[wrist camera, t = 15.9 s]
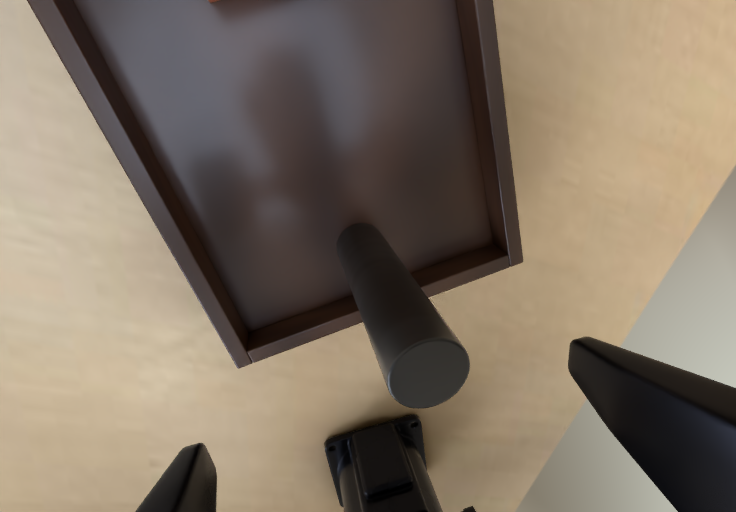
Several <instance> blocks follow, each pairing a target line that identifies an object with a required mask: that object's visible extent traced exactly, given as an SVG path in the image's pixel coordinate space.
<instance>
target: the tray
mask: <svg viewBox="0 0 736 512" xmlns="http://www.w3.org/2000/svg"><path fill="white" fill-rule="evenodd" d="M27 1H28V3H29V5H30V6H31V8H32V10H33V12H34V13H35V15H36V17H37V19H38V20H39V22H40V24H41V26H42V27H43V29H44V31H45V33H46V34H47V36H48V38H49V40H50V41H51V43H52V45H53V47H54V48H55V50H56V52H57V54H58V55H59V57H60V59H61V61H62V62H63V64H64V66H65V68H66V69H67V71H68V73H69V75H70V76H71V78H72V80H73V82H74V83H75V85H76V87H77V89H78V90H79V92H80V94H81V96H82V97H83V99H84V101H85V103H86V104H87V106H88V108H89V110H90V111H91V113H92V115H93V116H94V118H95V120H96V122H97V123H98V125H99V127H100V129H101V130H102V132H103V134H104V136H105V137H106V139H107V141H108V143H109V144H110V146H111V148H112V150H113V151H114V153H115V155H116V157H117V158H118V160H119V162H120V164H121V165H122V167H123V169H124V171H125V172H126V174H127V176H128V178H129V179H130V181H131V183H132V185H133V186H134V188H135V190H136V192H137V193H138V195H139V197H140V199H141V200H142V202H143V204H144V206H145V207H146V209H147V211H148V213H149V214H150V216H151V218H152V220H153V221H154V223H155V225H156V226H157V228H158V230H159V232H160V233H161V235H162V237H163V239H164V240H165V242H166V244H167V246H168V247H169V249H170V251H171V253H172V254H173V256H174V258H175V260H176V261H177V263H178V265H179V267H180V268H181V270H182V272H183V274H184V275H185V277H186V279H187V281H188V282H189V284H190V286H191V288H192V289H193V291H194V293H195V295H196V296H197V298H198V300H199V302H200V303H201V305H202V307H203V309H204V310H205V312H206V314H207V316H208V317H209V319H210V321H211V323H212V324H213V326H214V328H215V330H216V331H217V333H218V335H219V336H220V338H221V340H222V342H223V343H224V345H225V347H226V349H227V350H228V352H229V354H230V356H231V357H232V359H233V361H234V363H235V364H236V366H237V368H241V367H244V366H247V365H249V364H252V362H257V361H260V360H262V359H265V358H268V357H270V356H273V355H276V354H278V353H281V352H284V351H286V350H289V349H292V348H294V347H297V346H300V345H302V344H305V343H308V342H310V341H313V340H316V339H319V338H321V337H324V336H327V335H329V334H332V333H335V332H337V331H340V330H343V329H345V328H348V327H351V326H353V325H356V324H359V323H361V322H363V323H364V326H365V328H366V331H367V334H368V336H369V339H370V342H371V344H372V347H373V350H374V352H375V355H376V358H377V360H378V363H379V366H380V369H381V371H382V374H383V377H384V379H385V382H386V385H387V387H388V390H389V392H390V394H391V395H392V397H393V398H394V399H395V400H396V401H398V402H399V403H400V404H402V405H404V406H407V407H411V408H428V407H433V406H436V405H439V404H441V403H443V402H445V401H446V400H448V399H450V398H451V397H452V396H454V395H455V394H456V393H457V392H458V391H459V390H460V388H461V387H462V386H463V384H464V383H465V381H466V379H467V377H468V374H469V369H470V362H469V356H468V353H467V351H466V350H465V348H464V347H463V346H462V344H461V343H460V341H459V340H458V339H457V337H456V336H455V334H454V333H453V332H452V330H451V329H450V328H449V326H448V325H447V323H446V322H445V321H444V319H443V318H442V317H441V315H440V314H439V312H438V311H437V310H436V308H435V307H434V305H433V304H432V303H431V301H430V300H429V299H428V297H431V296H434V295H436V294H439V293H442V292H444V291H447V290H450V289H452V288H455V287H458V286H460V285H463V284H466V283H469V282H471V281H474V280H477V279H479V278H482V277H485V276H487V275H490V274H493V273H495V272H498V271H501V270H503V269H506V268H509V267H510V266H514V265H517V264H519V263H522V262H523V255H522V246H521V238H520V229H519V220H518V212H517V203H516V195H515V186H514V178H513V169H512V161H511V152H510V144H509V135H508V127H507V118H506V109H505V101H504V92H503V84H502V75H501V67H500V58H499V50H498V41H497V33H496V24H495V16H494V7H493V0H219V1H215V2H212V3H210V2H209V1H208V0H27Z"/></svg>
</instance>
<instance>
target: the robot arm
mask: <svg viewBox="0 0 736 512" xmlns="http://www.w3.org/2000/svg"><path fill="white" fill-rule="evenodd" d="M568 368H569V372H570V374H571V376H572V377H573V379H574V380H575V381H576V383H577V384H578V386H579V387H580V389H581V390H582V392H583V393H584V394H585V396H586V397H587V399H588V400H589V402H590V403H591V405H592V406H593V407H594V409H595V410H596V412H597V413H598V415H599V416H600V417H601V419H602V420H603V422H604V423H605V424H606V426H607V427H608V429H609V430H610V431H611V432H612V433H613V435H614V436H615V437H616V438H617V440H618V441H619V442H620V443H621V444H622V446H623V447H624V448H625V449H626V450H627V452H628V453H629V454H630V455H631V456H632V458H633V459H634V460H635V461H636V462H637V463H638V464H639V466H640V467H641V468H642V469H643V471H644V472H645V473H646V474H647V475H648V477H649V478H650V479H651V480H652V481H653V482H654V484H655V485H656V486H657V487H658V488H659V490H660V491H661V492H662V493H663V494H664V496H665V497H666V498H667V499H668V500H669V501H670V503H671V504H672V505H673V506H674V507H675V509H676V510H677V511H678V512H736V388H734V387H731V386H728V385H725V384H723V383H720V382H717V381H714V380H711V379H708V378H705V377H702V376H700V375H697V374H694V373H691V372H688V371H685V370H682V369H680V368H677V367H674V366H671V365H668V364H665V363H663V362H660V361H657V360H654V359H651V358H648V357H645V356H643V355H640V354H637V353H634V352H631V351H628V350H626V349H623V348H620V347H617V346H614V345H611V344H608V343H606V342H603V341H600V340H597V339H594V338H591V337H582V338H578V339H575V340H573V341H572V342H571V343H570V349H569V360H568ZM413 422H414V423H413ZM324 446H325V452H326V456H327V459H328V463H329V467H330V470H331V474H332V477H333V481H334V485H335V488H336V492H337V495H338V499H339V503H340V505H341V506H342V507H344V512H443V511H442V508H441V506H440V503H439V501H438V498H437V496H436V493H435V491H434V488H433V486H432V483H431V480H430V478H429V475H428V473H427V468H426V460H425V452H424V443H423V435H422V427H421V422H420V419H419V417H418V416H417V415H409V416H406V417H402V418H399V419H395V420H392V421H388V422H385V423H382V424H378V425H375V426H371V427H368V428H364V429H361V430H357V431H354V432H350V433H347V434H343V435H340V436H336V437H333V438H330V439H328V440H326V441H325V443H324ZM216 492H217V473H216V468H215V465H214V463H213V461H212V459H211V457H210V455H209V453H208V450H207V448H206V446H205V445H204V444H203V443H198V444H194V445H191V446H187V447H184V448H183V449H182V450H181V451H180V452H179V454H178V455H177V456H176V458H175V459H174V460H173V462H172V463H171V464H170V466H169V467H168V468H167V470H166V471H165V472H164V474H163V475H162V476H161V478H160V479H159V481H158V482H157V483H156V485H155V486H154V487H153V489H152V490H151V491H150V493H149V494H148V495H147V497H146V498H145V499H144V501H143V502H142V503H141V505H140V506H139V507H138V509H137V510H136V512H216ZM462 512H476V511H475V509H474V507H473V506H471V507H468V508H465V509H463V511H462Z"/></svg>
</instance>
